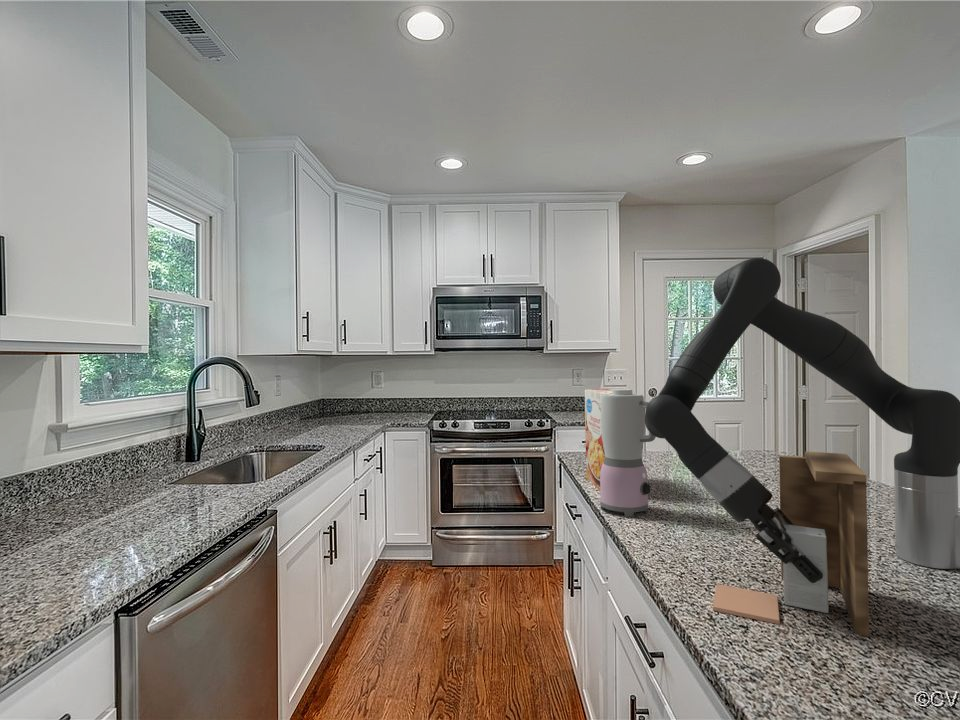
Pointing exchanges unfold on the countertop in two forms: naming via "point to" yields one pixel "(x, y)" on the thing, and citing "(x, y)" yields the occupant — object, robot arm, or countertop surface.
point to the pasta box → (594, 435)
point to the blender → (624, 452)
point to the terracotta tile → (746, 603)
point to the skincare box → (795, 582)
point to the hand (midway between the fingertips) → (818, 573)
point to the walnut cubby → (832, 520)
